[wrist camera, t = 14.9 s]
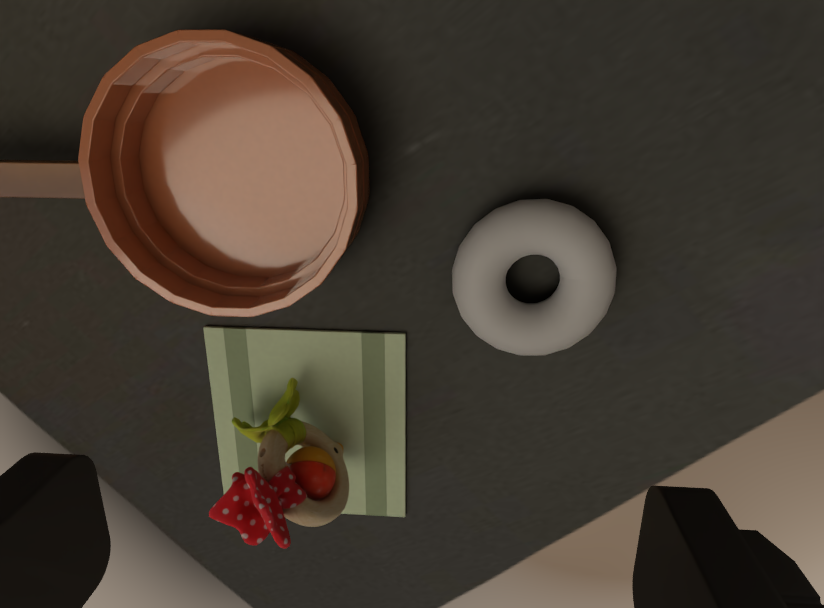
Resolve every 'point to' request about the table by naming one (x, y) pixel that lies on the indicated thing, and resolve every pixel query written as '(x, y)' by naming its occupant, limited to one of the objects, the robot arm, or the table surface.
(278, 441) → the bird rattle
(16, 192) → the pan handle
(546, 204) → the donut
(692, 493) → the robot arm
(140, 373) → the table surface
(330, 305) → the table surface
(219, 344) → the towel
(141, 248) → the pan
